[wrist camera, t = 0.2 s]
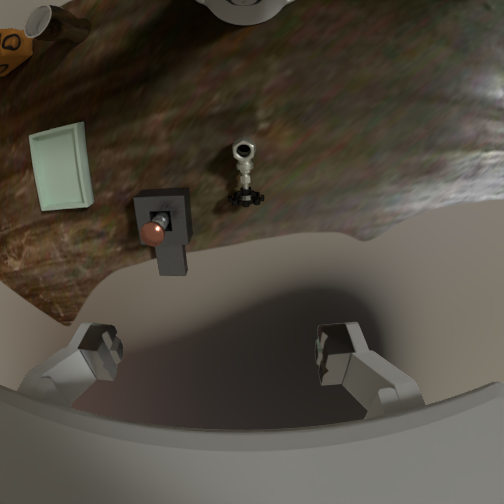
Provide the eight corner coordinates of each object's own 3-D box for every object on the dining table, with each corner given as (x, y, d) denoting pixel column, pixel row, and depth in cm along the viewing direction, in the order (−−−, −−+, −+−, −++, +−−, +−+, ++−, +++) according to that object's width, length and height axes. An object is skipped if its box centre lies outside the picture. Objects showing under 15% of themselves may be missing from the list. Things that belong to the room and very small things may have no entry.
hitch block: (141, 189, 56) (133, 197, 52) (189, 187, 56) (183, 195, 52) (154, 269, 65) (148, 281, 61) (196, 270, 66) (192, 282, 61)
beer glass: (77, 51, 41) (33, 45, 28) (61, 36, 38) (17, 29, 25) (98, 25, 39) (58, 12, 25) (82, 11, 36) (41, -3, 23)
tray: (36, 133, 48) (28, 135, 46) (83, 121, 48) (76, 123, 46) (48, 206, 57) (41, 211, 54) (94, 202, 57) (88, 207, 55)
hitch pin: (156, 202, 58) (138, 223, 48) (176, 201, 58) (162, 223, 48) (158, 221, 60) (142, 246, 50) (178, 221, 60) (165, 246, 50)
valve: (225, 136, 52) (229, 196, 57) (222, 140, 46) (227, 208, 52) (261, 134, 52) (263, 195, 57) (263, 138, 46) (265, 206, 52)
